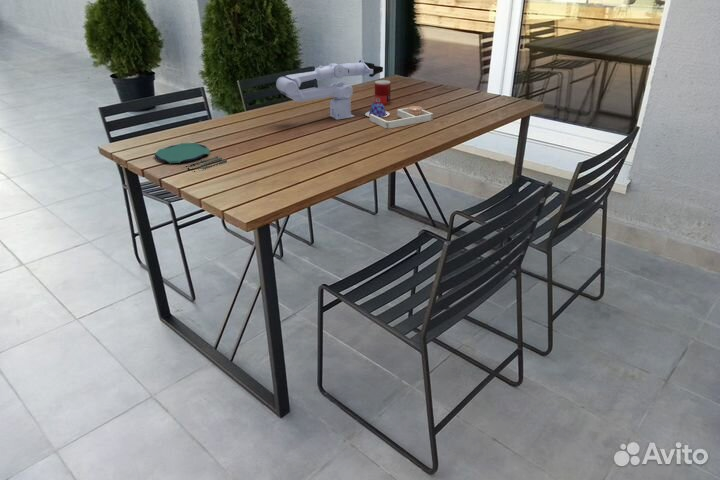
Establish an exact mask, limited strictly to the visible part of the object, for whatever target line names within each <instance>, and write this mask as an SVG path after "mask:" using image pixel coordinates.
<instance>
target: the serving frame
mask: <svg viewBox="0 0 720 480" xmlns="http://www.w3.org/2000/svg"><path fill="white" fill-rule="evenodd" d="M408 112H409V110H408V107H404V108H400V109H399V108H398V109H396V116H397V117H399V119H393V120H389V121H388V120H385V119H383V118H382V117H381V118H379V117H377V116H375V115H373V114H370V117H369V121H370V122H372V123H374V124H375V125H378V126H380V127H381V128H384V129H386V130H390V129H394V128H399V127H403V126H404V127H405V126H409V125H415V124H419V123H421V124H422V123H425V122H431V121H433V120H434V113H432V112H429V111H427V110H425V109H422V110H421V115H420V116H414V115H412V114H409V113H408Z"/></svg>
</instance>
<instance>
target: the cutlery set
mask: <svg viewBox="0 0 720 480" xmlns="http://www.w3.org/2000/svg"><path fill="white" fill-rule="evenodd" d="M210 153H211V149H209V148H208V147H207V146H205V145H203V144H201V143H200V144H199V143H197V142H181V143H179V144H175V145H170V146H166V147H163V148H159V149H158V150H157V151H156V153H154V156H155V158H157V159H158V160H159V161H161V162H164V163H165V162H166V163H169V164H171V163H179V164H180V163H185V162H190V161H195V160H197V159H200V158H202V157H204V156H205V155H207V156H209V155H210ZM201 162H203V163H201ZM213 162H216V163H214V164H210V163H213ZM197 163H199V165H201V166H197V168H198V169H205V170H207V169H208V168H212V167H211V166H213V167H215V165H216V166H219V165H221V164H225V163H228V160H227V159H224V160H223V157H218V156H215V157H212V158H208V159H201V160H200V161H196V162H193V163H190V164H188V165H192V166H194V165H193V164H195V165H198V164H197ZM208 164H209V165H208ZM218 164H219V165H218ZM202 165H203V166H202ZM199 167H200V168H199ZM206 168H207V169H206Z"/></svg>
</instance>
